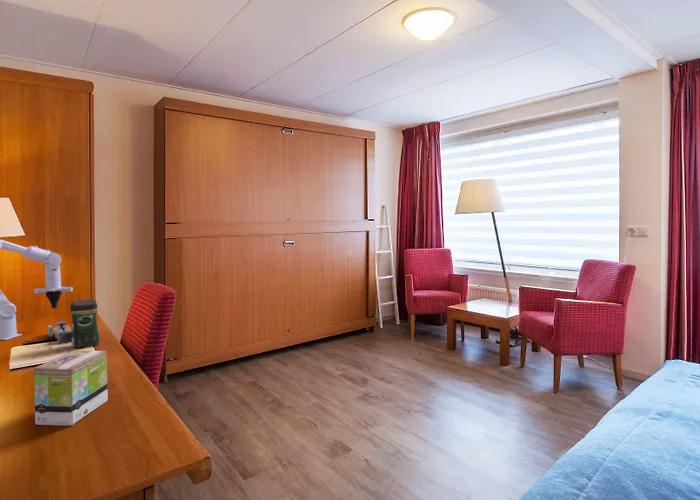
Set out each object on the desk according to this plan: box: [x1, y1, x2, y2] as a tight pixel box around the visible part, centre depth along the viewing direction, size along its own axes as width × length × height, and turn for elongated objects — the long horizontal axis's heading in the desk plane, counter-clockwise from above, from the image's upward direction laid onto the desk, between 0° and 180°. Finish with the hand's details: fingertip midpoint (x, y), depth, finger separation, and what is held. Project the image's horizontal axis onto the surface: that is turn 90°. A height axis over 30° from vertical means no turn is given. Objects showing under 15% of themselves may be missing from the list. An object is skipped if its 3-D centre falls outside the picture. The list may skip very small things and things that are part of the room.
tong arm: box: [53, 320, 67, 345], centre depth 182 cm, size 21×4×5 cm, turn 41°
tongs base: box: [60, 324, 72, 344], centre depth 182 cm, size 20×4×4 cm, turn 38°
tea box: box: [33, 350, 109, 426], centre depth 112 cm, size 15×10×15 cm
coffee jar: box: [69, 298, 101, 349], centre depth 170 cm, size 10×8×19 cm
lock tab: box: [47, 324, 54, 337], centre depth 185 cm, size 4×1×4 cm, turn 38°
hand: (54, 307), depth 195 cm, fingers closed
